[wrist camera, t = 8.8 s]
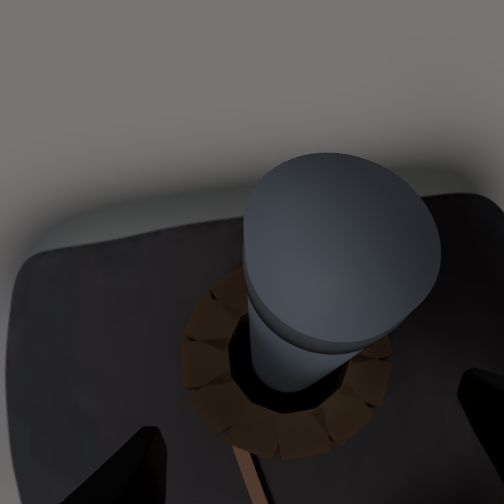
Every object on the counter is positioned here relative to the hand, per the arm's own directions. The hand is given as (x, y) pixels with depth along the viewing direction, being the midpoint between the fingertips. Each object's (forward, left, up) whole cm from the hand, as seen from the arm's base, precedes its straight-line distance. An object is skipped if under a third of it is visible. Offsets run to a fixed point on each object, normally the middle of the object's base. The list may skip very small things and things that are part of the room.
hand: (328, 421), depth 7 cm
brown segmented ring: (+3, +2, -8) cm, 9 cm away
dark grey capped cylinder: (+3, +2, -8) cm, 9 cm away
